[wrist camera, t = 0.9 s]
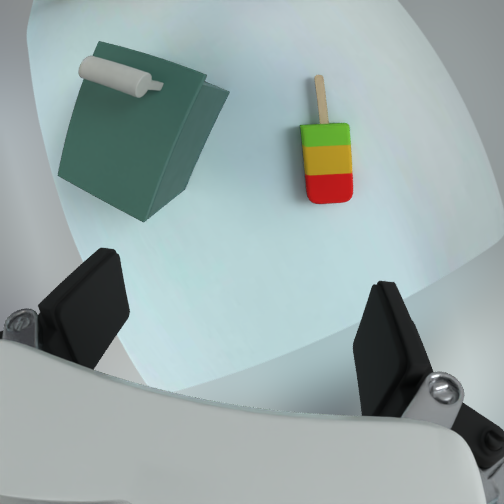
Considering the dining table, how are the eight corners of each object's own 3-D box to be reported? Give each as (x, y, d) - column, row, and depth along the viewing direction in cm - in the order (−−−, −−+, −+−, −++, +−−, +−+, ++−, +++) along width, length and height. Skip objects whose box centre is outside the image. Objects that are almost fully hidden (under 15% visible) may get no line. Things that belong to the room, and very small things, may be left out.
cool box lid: (103, 41, 20) (67, 34, 15) (207, 75, 21) (184, 67, 16) (61, 173, 27) (27, 188, 22) (147, 219, 28) (119, 243, 23)
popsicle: (306, 201, 36) (307, 205, 34) (293, 77, 30) (293, 75, 28) (351, 198, 35) (354, 203, 33) (341, 75, 29) (344, 73, 27)
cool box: (148, 61, 30) (99, 50, 21) (230, 92, 31) (202, 84, 22) (112, 155, 36) (62, 173, 27) (184, 190, 37) (147, 219, 28)
